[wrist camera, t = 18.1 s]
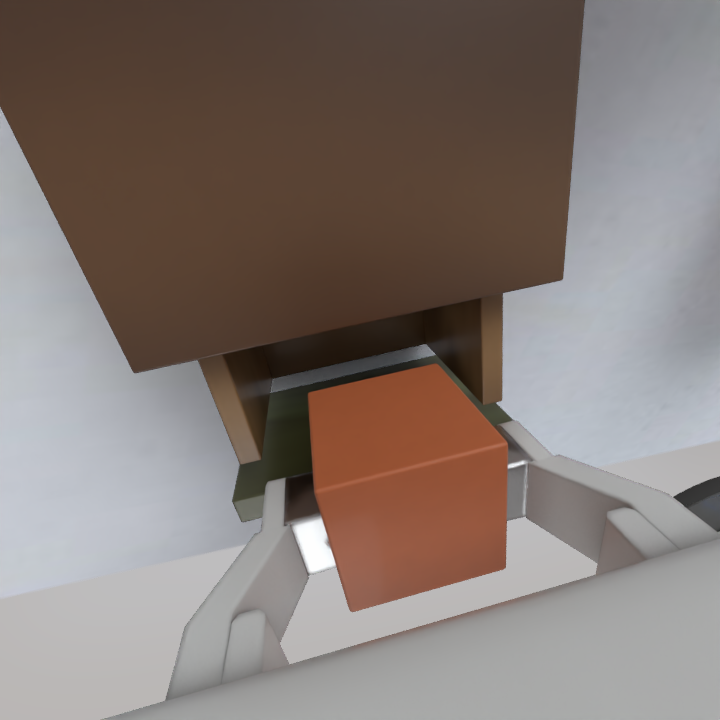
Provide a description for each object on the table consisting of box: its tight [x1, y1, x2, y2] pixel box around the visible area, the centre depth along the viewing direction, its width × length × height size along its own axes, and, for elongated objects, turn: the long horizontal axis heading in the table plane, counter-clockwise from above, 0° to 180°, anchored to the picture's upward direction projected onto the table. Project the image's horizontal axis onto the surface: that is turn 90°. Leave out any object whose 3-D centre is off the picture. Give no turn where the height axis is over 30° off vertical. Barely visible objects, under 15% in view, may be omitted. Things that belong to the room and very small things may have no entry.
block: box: [308, 363, 508, 612], centre depth 10 cm, size 4×4×4 cm
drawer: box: [198, 293, 513, 522], centre depth 16 cm, size 18×11×8 cm, turn 10°
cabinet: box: [0, 0, 585, 373], centre depth 11 cm, size 15×13×10 cm
